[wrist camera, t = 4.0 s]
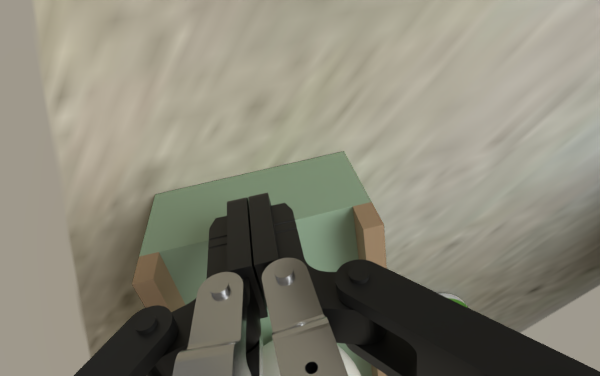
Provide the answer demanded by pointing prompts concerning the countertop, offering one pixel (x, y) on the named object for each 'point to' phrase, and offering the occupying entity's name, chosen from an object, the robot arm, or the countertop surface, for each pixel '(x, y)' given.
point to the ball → (272, 370)
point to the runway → (282, 189)
